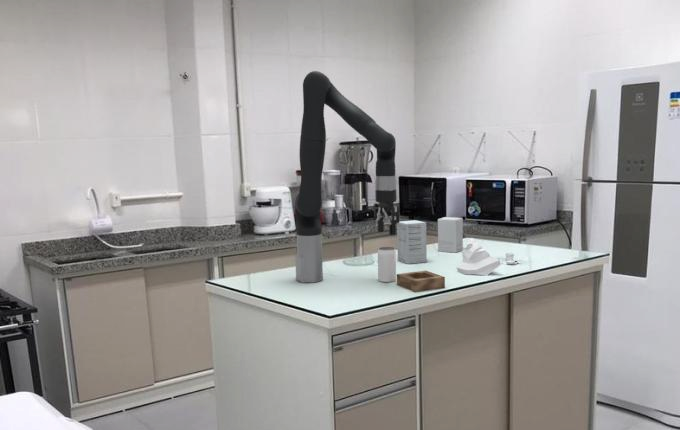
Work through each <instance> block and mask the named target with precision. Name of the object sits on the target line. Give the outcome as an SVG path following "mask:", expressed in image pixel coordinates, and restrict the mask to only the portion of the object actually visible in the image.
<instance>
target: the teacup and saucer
mask: <svg viewBox="0 0 680 430" xmlns="http://www.w3.org/2000/svg"><path fill="white" fill-rule="evenodd" d="M514 256H515V255H514V253H512V252H506V253H505V260H506V261H505V264H506V265H510V264H513V265H516V263H517V262H515V261H516V260H514ZM501 261H502V260H500V263H501ZM501 264H502V263H501Z"/></svg>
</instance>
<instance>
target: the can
mask: <svg viewBox="0 0 680 430" xmlns="http://www.w3.org/2000/svg"><path fill="white" fill-rule="evenodd" d="M396 253H397V252H396V250H395V247H392V246H382V247H379V248H378V252H377V267H378V268H377V280H378V281H379V282H380V283H386V284H389V283H394V282H396V281H397V261H396V260H397V258H396V256H397V254H396Z"/></svg>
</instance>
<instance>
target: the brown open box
mask: <svg viewBox="0 0 680 430" xmlns="http://www.w3.org/2000/svg"><path fill="white" fill-rule="evenodd" d="M396 286H399V287H402V288H404V289H406V290H409V291H411V292H414V293H420V292H426V291H432V290H439V289H445V288H446V276H443V275H440V274H437V273H434V272H431V271H429V270H419V271H412V272H411V271H410V272H403V273H396Z"/></svg>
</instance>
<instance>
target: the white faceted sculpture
mask: <svg viewBox="0 0 680 430" xmlns="http://www.w3.org/2000/svg"><path fill="white" fill-rule="evenodd" d="M461 255H462V262H461V263H460V264H459V265H457V266H456V270H457V272H458V273H461V274H464V275H479V276H486V275H487V276H488V275H489V274H491V273H492V272H494V270H496V269H498V268H499V267H500V266H501V265H502V263H500V261H501V260H500V259H497V258H496V257H495V258H494V257H491V256H490V253H489V252H488V251H487V250H485V248H483V246H482V245H480V244H479V243H478V239H476V238H473V237H471V238H470V239H469V240H468V243H467V244H466V246H465V248H463V250H461Z"/></svg>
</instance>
